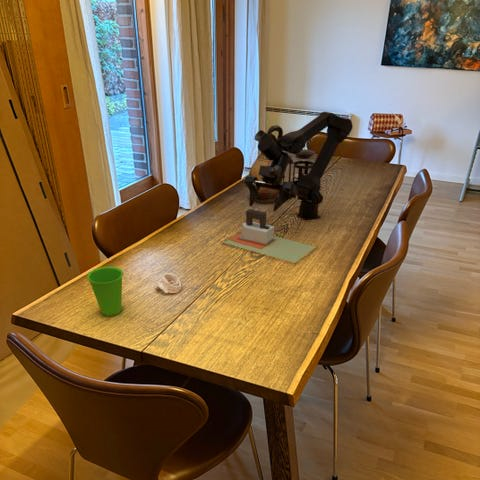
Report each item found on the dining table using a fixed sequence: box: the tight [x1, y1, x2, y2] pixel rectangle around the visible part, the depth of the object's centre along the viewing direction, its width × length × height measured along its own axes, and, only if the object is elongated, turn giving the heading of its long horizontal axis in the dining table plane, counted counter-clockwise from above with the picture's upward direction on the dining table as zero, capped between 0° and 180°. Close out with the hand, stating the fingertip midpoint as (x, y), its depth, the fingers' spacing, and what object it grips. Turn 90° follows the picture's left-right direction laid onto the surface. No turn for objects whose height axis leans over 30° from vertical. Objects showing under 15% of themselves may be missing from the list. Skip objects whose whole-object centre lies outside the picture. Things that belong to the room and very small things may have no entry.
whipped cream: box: [155, 272, 182, 294], centre depth 135 cm, size 8×7×5 cm
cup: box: [86, 266, 124, 317], centre depth 123 cm, size 9×9×11 cm
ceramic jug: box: [248, 124, 285, 204], centre depth 195 cm, size 17×15×30 cm
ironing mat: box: [223, 232, 317, 264], centre depth 162 cm, size 28×15×1 cm, turn 56°
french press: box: [288, 144, 316, 187], centre depth 208 cm, size 12×9×23 cm
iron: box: [238, 208, 275, 246], centre depth 162 cm, size 11×6×10 cm, turn 60°
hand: (262, 208), depth 162 cm, fingers open, 9 cm apart
